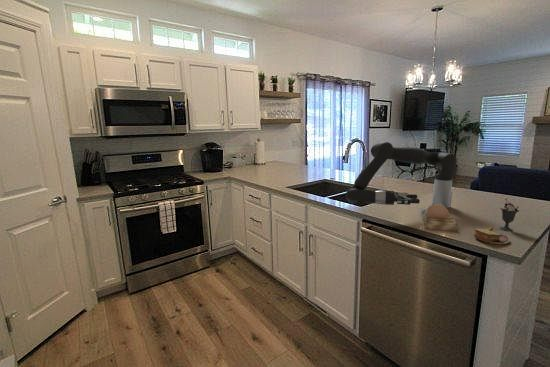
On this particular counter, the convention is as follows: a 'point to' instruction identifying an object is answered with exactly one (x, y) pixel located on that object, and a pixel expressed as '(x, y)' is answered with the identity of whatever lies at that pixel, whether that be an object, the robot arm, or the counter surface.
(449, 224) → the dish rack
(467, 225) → the counter surface
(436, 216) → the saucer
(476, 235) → the toy sandwich meal
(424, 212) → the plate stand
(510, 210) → the sundae
